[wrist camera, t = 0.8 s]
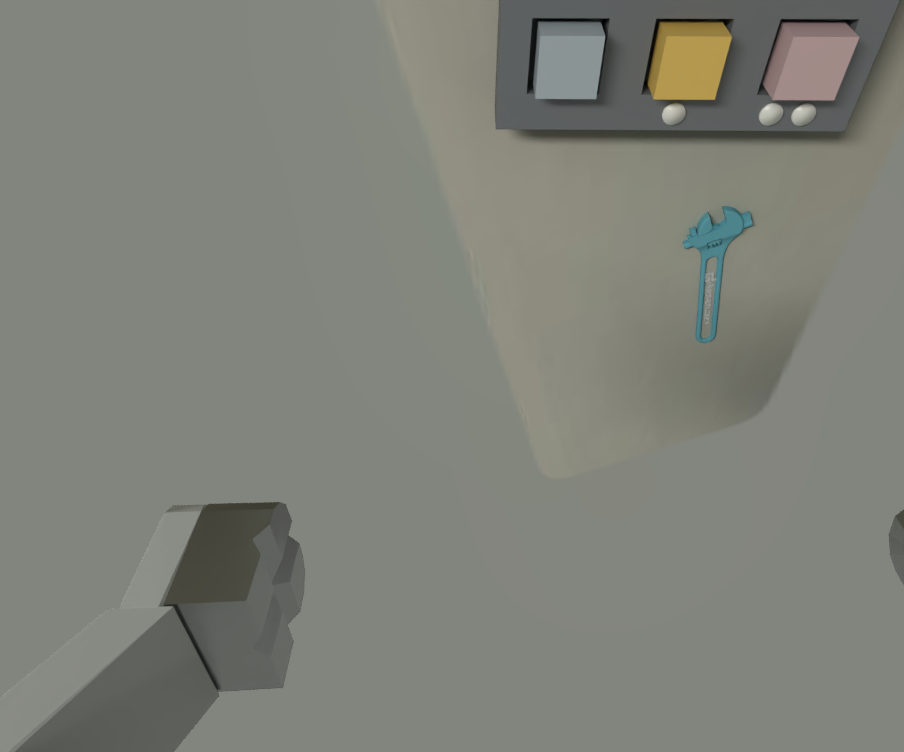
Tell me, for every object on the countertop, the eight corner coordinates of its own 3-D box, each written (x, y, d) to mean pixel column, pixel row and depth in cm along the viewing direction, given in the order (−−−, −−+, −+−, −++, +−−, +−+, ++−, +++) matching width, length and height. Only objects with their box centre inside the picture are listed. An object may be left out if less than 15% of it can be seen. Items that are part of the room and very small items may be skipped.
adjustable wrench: (686, 217, 52) (757, 206, 51) (683, 209, 53) (753, 199, 52) (678, 349, 62) (737, 343, 61) (676, 342, 63) (734, 335, 62)
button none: (533, 82, 43) (535, 98, 42) (538, 21, 41) (540, 35, 39) (591, 82, 43) (596, 99, 42) (600, 21, 41) (605, 35, 39)
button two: (762, 83, 43) (772, 100, 42) (781, 21, 40) (793, 36, 39) (821, 84, 43) (834, 100, 41) (845, 22, 40) (859, 37, 39)
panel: (494, 107, 47) (495, 130, 45) (501, -44, 40) (502, -26, 38) (827, 109, 46) (845, 132, 44) (888, -44, 40) (912, -25, 38)
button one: (647, 83, 43) (653, 99, 42) (659, 21, 41) (666, 36, 39) (706, 83, 43) (714, 99, 42) (722, 21, 41) (732, 36, 39)
